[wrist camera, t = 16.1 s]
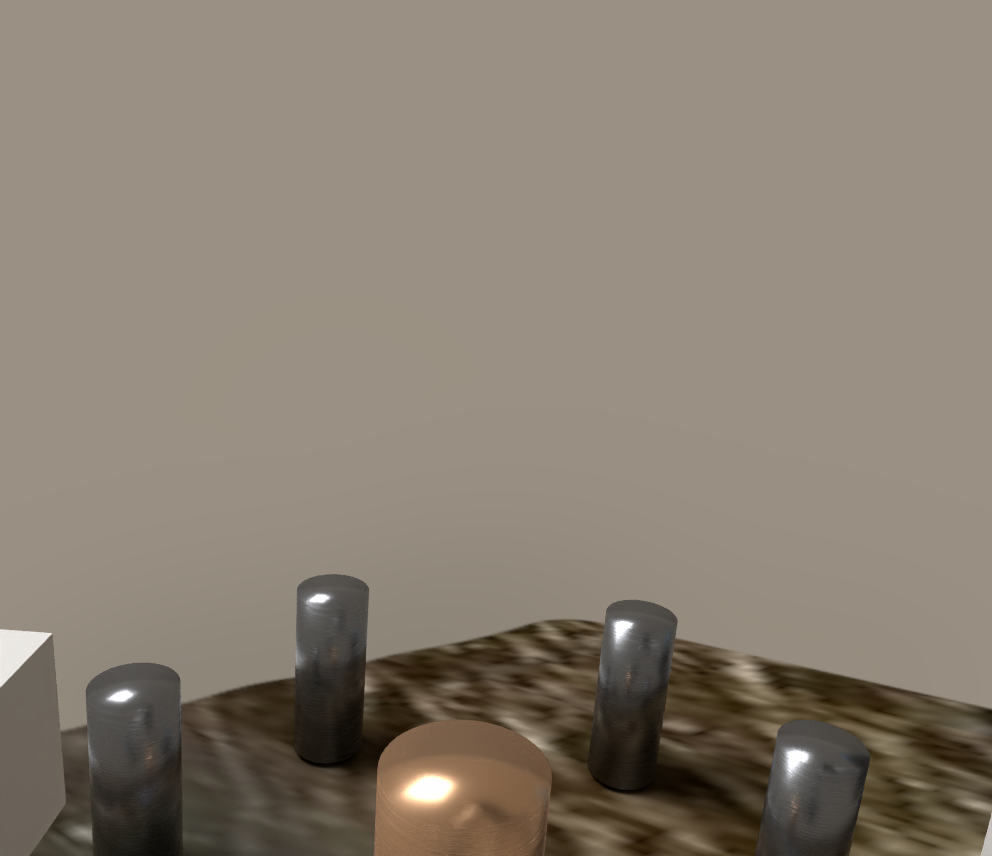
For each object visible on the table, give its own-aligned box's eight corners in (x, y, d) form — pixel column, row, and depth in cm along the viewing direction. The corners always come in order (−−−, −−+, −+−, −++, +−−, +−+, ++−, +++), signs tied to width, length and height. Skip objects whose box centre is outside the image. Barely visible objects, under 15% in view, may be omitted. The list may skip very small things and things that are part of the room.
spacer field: (762, 760, 47) (789, 613, 44) (841, 963, 35) (883, 777, 33) (191, 710, 47) (189, 561, 45) (79, 896, 35) (69, 706, 33)
